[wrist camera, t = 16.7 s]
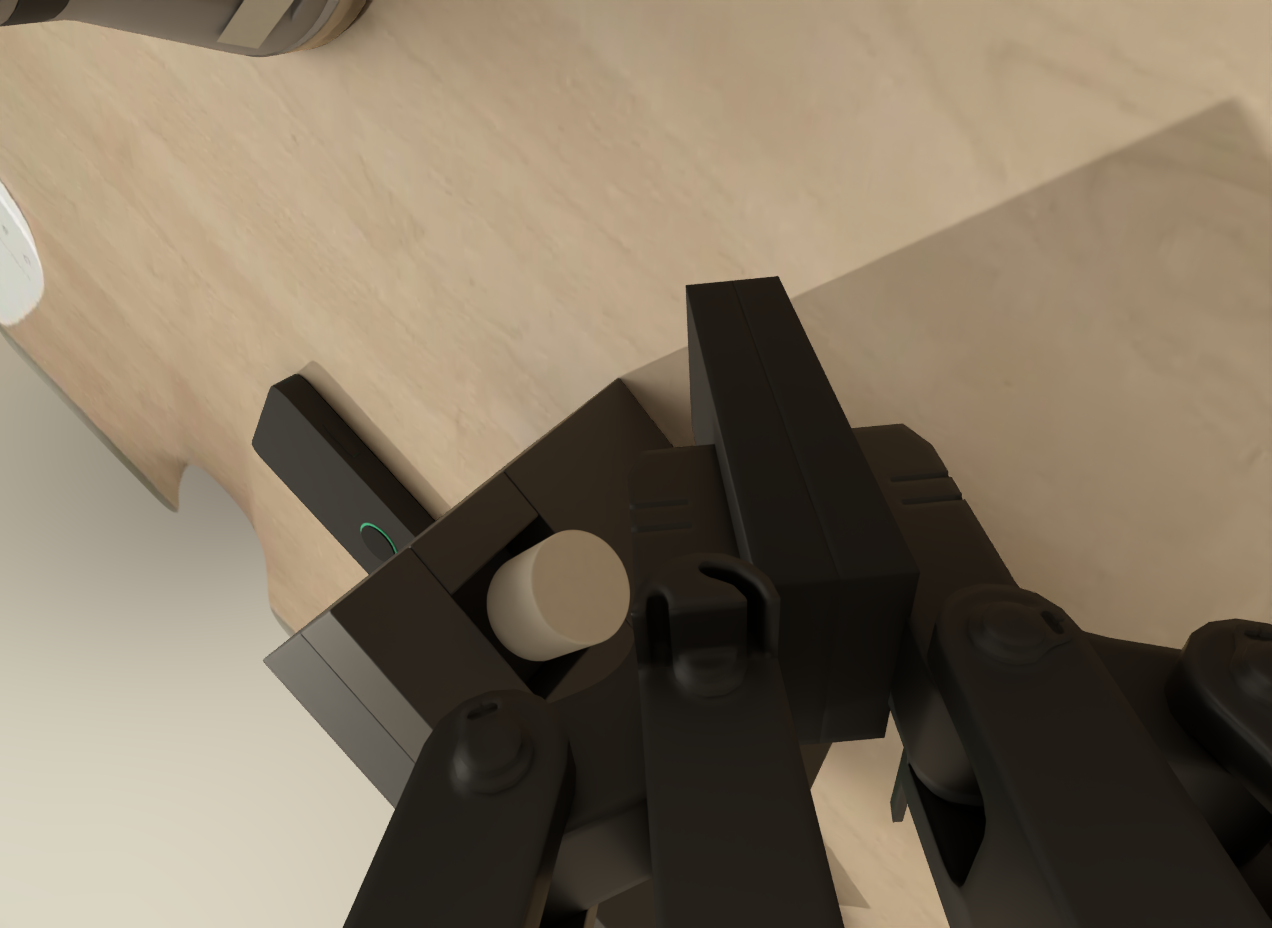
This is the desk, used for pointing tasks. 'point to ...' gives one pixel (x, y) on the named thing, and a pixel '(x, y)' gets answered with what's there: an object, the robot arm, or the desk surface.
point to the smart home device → (336, 474)
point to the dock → (477, 610)
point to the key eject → (558, 596)
